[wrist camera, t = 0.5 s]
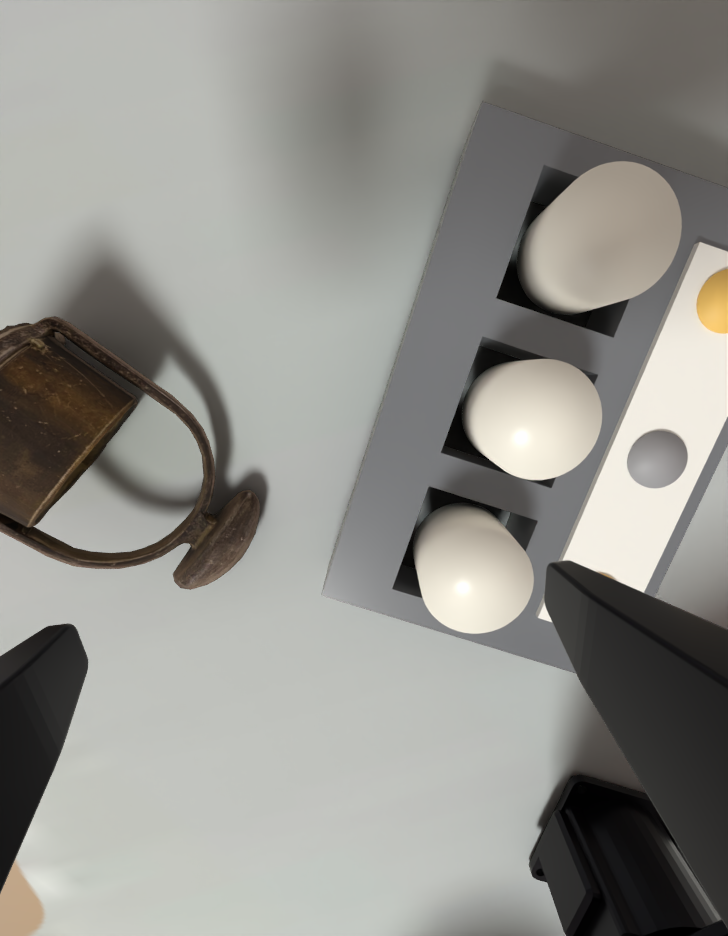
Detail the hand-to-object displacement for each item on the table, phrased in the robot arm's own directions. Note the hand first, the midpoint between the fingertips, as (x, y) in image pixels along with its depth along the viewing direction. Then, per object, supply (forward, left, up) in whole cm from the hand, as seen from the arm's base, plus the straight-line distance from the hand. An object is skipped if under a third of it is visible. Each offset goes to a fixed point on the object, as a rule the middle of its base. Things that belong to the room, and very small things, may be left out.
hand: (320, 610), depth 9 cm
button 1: (-5, +1, -11) cm, 12 cm away
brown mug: (+10, +3, -13) cm, 17 cm away
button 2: (-5, -11, -11) cm, 16 cm away
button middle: (-5, -5, -11) cm, 13 cm away
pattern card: (-11, -5, -10) cm, 15 cm away
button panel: (-7, -5, -13) cm, 15 cm away
